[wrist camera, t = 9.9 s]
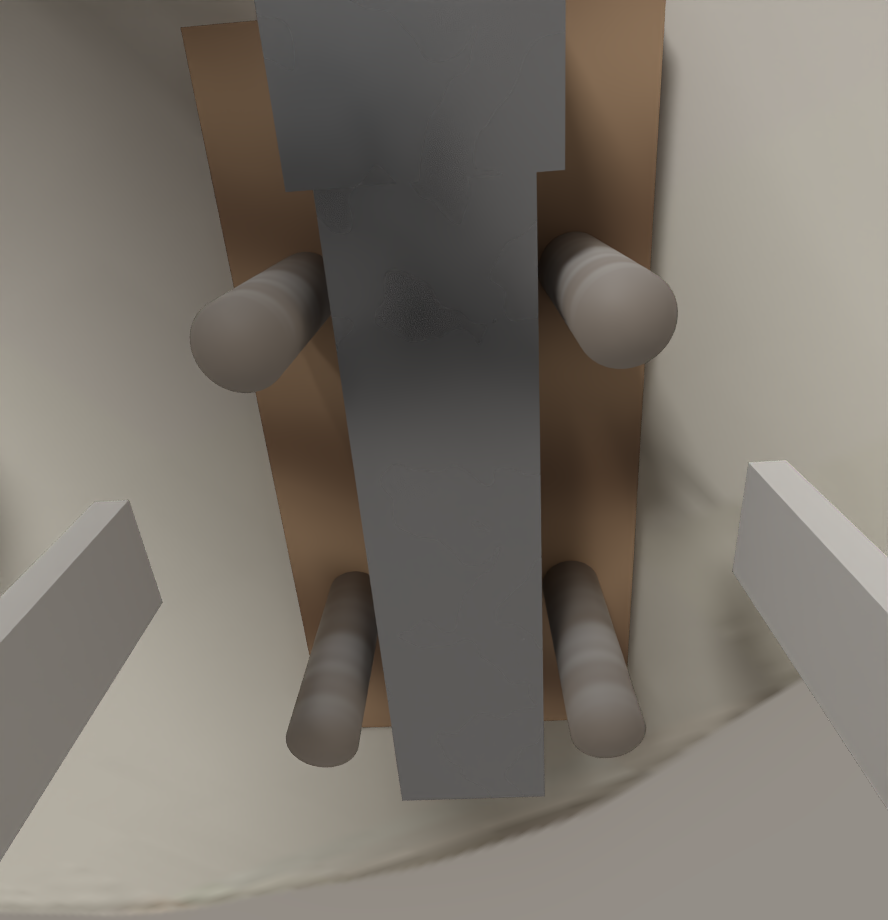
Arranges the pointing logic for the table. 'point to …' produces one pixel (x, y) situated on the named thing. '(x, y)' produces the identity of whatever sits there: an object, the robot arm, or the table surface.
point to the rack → (560, 374)
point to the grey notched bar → (436, 345)
